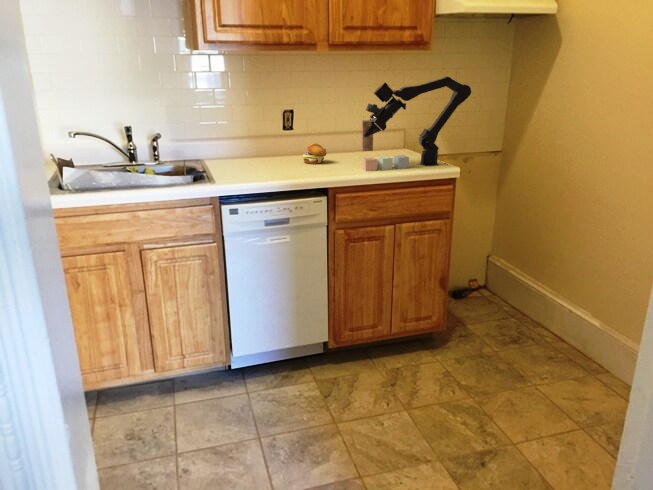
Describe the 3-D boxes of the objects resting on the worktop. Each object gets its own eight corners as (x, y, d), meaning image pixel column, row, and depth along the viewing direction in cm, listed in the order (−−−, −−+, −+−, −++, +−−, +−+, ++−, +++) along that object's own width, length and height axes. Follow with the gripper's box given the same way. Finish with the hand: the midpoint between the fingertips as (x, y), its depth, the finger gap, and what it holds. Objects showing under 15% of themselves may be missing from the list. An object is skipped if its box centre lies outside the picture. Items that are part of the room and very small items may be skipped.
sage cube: (386, 167, 246) (386, 156, 244) (392, 169, 242) (392, 157, 240) (376, 168, 244) (376, 157, 242) (382, 170, 240) (382, 158, 238)
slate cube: (403, 166, 248) (404, 155, 246) (408, 168, 243) (409, 157, 242) (393, 166, 247) (393, 155, 245) (398, 169, 242) (398, 157, 240)
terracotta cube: (373, 168, 244) (373, 157, 242) (376, 170, 239) (376, 159, 237) (362, 169, 243) (362, 157, 241) (365, 171, 238) (365, 159, 236)
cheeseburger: (309, 159, 265) (313, 139, 261) (327, 166, 261) (332, 146, 257) (297, 162, 257) (301, 142, 252) (316, 170, 253) (321, 149, 248)
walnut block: (371, 149, 250) (372, 120, 246) (372, 150, 246) (373, 121, 242) (362, 149, 250) (362, 120, 246) (362, 151, 246) (363, 121, 242)
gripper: (374, 95, 249) (350, 120, 253) (379, 98, 232) (353, 125, 235) (391, 112, 252) (367, 137, 255) (397, 117, 234) (371, 143, 238)
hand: (364, 135), depth 246 cm, fingers closed on walnut block, 4 cm apart
